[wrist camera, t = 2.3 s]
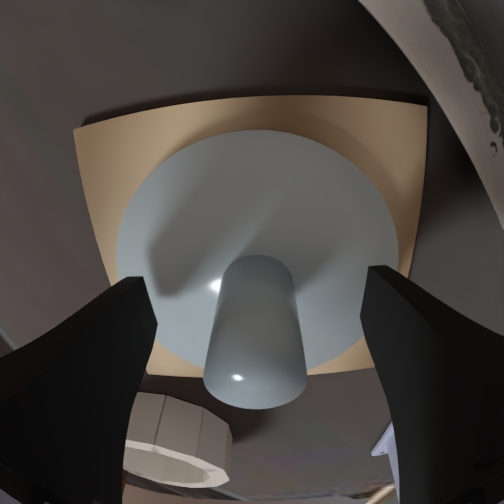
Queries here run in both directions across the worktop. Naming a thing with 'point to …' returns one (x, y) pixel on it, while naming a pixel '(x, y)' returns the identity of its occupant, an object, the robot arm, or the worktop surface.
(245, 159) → the lid
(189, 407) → the bowl
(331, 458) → the worktop surface
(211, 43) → the worktop surface
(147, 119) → the mat
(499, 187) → the kitchen knife
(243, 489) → the worktop surface
